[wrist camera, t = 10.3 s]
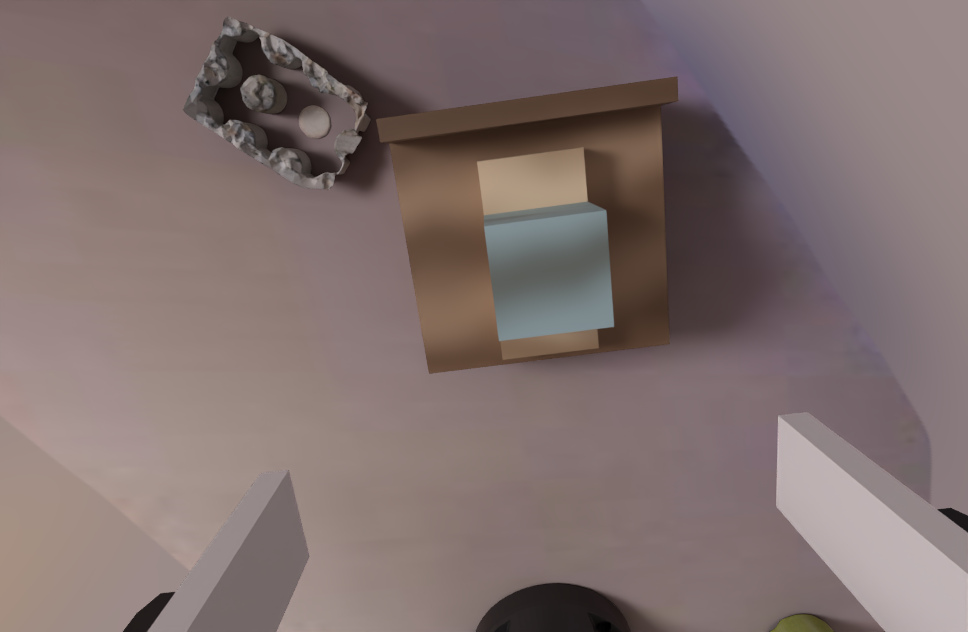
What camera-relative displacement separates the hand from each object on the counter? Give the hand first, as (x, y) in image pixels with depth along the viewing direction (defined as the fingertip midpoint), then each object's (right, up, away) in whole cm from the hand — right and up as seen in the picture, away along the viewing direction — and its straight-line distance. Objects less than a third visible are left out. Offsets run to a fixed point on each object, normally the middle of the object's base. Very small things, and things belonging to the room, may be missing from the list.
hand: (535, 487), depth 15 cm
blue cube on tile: (+2, +9, +20) cm, 22 cm away
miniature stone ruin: (-15, +19, +24) cm, 34 cm away
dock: (+2, +11, +26) cm, 28 cm away
